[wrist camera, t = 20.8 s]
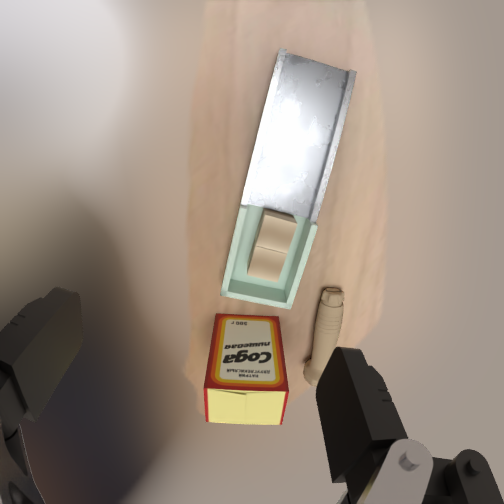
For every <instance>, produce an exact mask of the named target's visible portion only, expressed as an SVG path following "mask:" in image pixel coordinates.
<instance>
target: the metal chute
mask: <svg viewBox="0 0 504 504" xmlns="http://www.w3.org/2000/svg"><path fill="white" fill-rule="evenodd" d="M286 51H287V50H286V49H282V48H280V50H279V52H278V56H277V59H276V63H275V67H274V71H273V75H272V78H271V82H270V86H269V90H268V94H267V98H266V102H265V106H264V109H263V113H262V117H261V121H260V125H259V129H258V133H257V137H256V141H255V145H254V149H253V153H252V157H251V162H250V166H249V170H248V174H247V178H246V182H245V186H244V191H243V195H242V199H241V205H243V206H247V204H251V205H255V206H259V207H264V208H268V209H272V210H276V211H280V212H284V213H289V214H293V215H297V216H301V217H305V218H308V219H309V221H310V222H314V223H316V221H317V218H318V214H319V211H320V208H321V204H322V201H323V197H324V194H325V191H326V187H327V184H328V180H329V177H330V173H331V170H332V166H333V163H334V159H335V155H336V152H337V148H338V144H339V141H340V137H341V133H342V129H343V125H344V122H345V118H346V114H347V110H348V106H349V102H350V98H351V94H352V90H353V85H354V81H355V77H356V73H357V72H356V71H353V70H349V71H344V70H341V69H338V68H335V67H332V66H329V65H326V64H323V63H320V62H317V61H313V60H310V59H307V58H303V57H300V56H296V55H292V54H289V53H286Z"/></svg>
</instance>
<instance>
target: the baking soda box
mask: <svg viewBox="0 0 504 504" xmlns="http://www.w3.org/2000/svg"><path fill="white" fill-rule="evenodd" d="M288 394H289V388H288V381H287V373H286V366H285V358H284V351H283V344H282V337H281V330H280V322H279V316H254V315H234V314H217V313H216V316H215V322H214V328H213V334H212V340H211V346H210V352H209V358H208V364H207V370H206V376H205V383H204V402H205V416H206V422H217V423H233V424H262V425H272V424H273V425H281V424H282V421H283V417H284V412H285V408H286V403H287V399H288Z"/></svg>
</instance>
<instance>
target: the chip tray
mask: <svg viewBox="0 0 504 504" xmlns="http://www.w3.org/2000/svg"><path fill="white" fill-rule="evenodd" d="M263 208H264V207H259V206H255V205H251V204H247V206H243V205H241V203H240V207H239V212H238V216H237V220H236V224H235V229H234V233H233V237H232V242H231V246H230V251H229V255H228V259H227V264H226V268H225V273H224V277H223V282H222V288H221V293H220V295H221V296H226V297H231V298H236V299H240V300H245V301H250V302H255V303H260V304H265V305H270V306H276V307H281V308H286V309H291V306H292V303H293V300H294V298H295V295H296V292H297V289H298V286H299V283H300V280H301V277H302V274H303V271H304V268H305V265H306V262H307V259H308V256H309V253H310V250H311V246H312V243H313V240H314V237H315V234H316V231H317V227H318V225H317V224H316V223H314V222H310V221H309V219H308V218H305V217H301V216H297V215H293V214H291V215H293V216H294V218H295V220H296V222H297V227H296V230H295V233H294V236H293V239H292V241H291V244H290V247H289V250H288V253H287V256H286V259H285V262H284V265H283V268H282V271H281V274H280V277H279V279H278V282H274V281H269V280H265V279H261V278H257V277H253V276H249V275H247V262H248V258H249V255H250V251H251V248H252V245H253V241H254V238H255V234H256V231H257V228H258V224H259V221H260V218H261V215H262V211H263ZM288 214H289V213H288Z"/></svg>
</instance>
